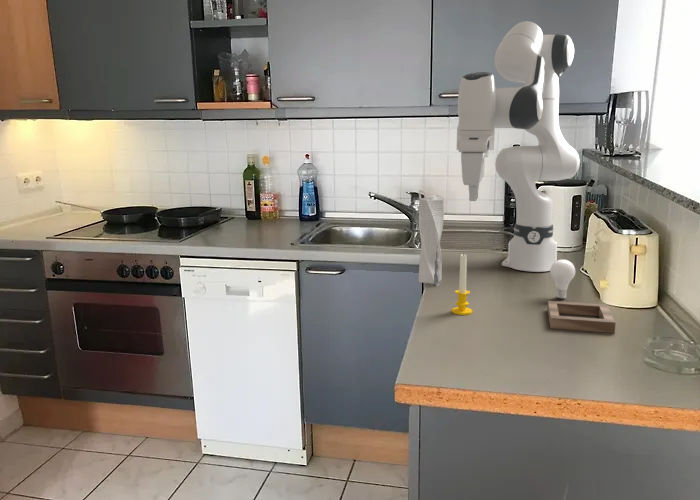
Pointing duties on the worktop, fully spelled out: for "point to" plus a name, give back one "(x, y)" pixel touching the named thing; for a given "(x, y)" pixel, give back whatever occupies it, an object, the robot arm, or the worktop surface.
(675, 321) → the worktop surface
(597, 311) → the rectangular wooden frame
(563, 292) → the lightbulb
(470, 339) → the worktop surface
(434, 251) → the skyscraper
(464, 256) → the candle
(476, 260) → the worktop surface
